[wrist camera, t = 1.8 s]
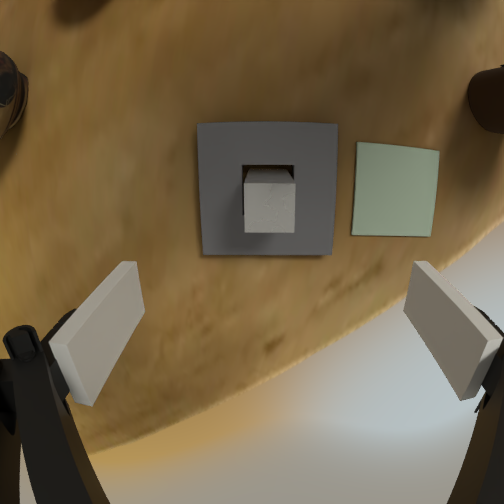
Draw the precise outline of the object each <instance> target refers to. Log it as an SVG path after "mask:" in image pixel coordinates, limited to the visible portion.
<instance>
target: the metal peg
mask: <svg viewBox="0 0 504 504" xmlns="http://www.w3.org/2000/svg"><path fill="white" fill-rule="evenodd" d="M295 187H296V184H295V182H294V180H293V179H292V177H291V176H290V174H289V172H288V171H287V169H249V171H248V173H247V176H246V179H245V182H244V221H245V233H248V232H253V233H294V226H295Z"/></svg>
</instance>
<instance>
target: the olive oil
mask: <svg viewBox="0 0 504 504" xmlns="http://www.w3.org/2000/svg"><path fill="white" fill-rule="evenodd" d="M500 66H502V67H500V68H495V69H490V70H485V71H481V72H479V73H477V74H476V75H475V76H474V77H473V78H472V80H471V82H470V85H469V103H470V107H471V110H472V112H473V115H474V117H475V118H476V120H477V121H478V123H479V124H480V125H481V126H482V127H483V128H485V129H486V130H488V131H490V132H494V133H500V134H504V65H500Z"/></svg>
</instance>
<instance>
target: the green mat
mask: <svg viewBox="0 0 504 504" xmlns="http://www.w3.org/2000/svg"><path fill="white" fill-rule="evenodd" d="M439 152H440V151H436V150H429V149H421V148H414V147H405V146H397V145H387V144H377V143H365V142H356V170H355V189H354V205H353V218H352V230H351V234H352V235H383V236H431V229H432V223H433V215H434V208H435V199H436V190H437V180H438V167H439Z"/></svg>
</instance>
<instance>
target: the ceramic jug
mask: <svg viewBox="0 0 504 504" xmlns="http://www.w3.org/2000/svg"><path fill="white" fill-rule="evenodd" d="M27 95H28V79H27V77H26V76H25V75H24V74H22V73H20V72H19V71H18V68H17V66H16V65H15V63H14V62H13V60H12V59H11V58H10V57H9V56H7V55H6V54H5V53H4V52H2V51H0V139H1V138H2V137H3V136H4V134H5V133H6V132H7V131H8V129H10V128H11V127H12V126H13V125H14V124H16V123H17V121H18V120H19V119H20V116H21V114H22V112H23V110H24V108H25V105H26V102H27Z"/></svg>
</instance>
